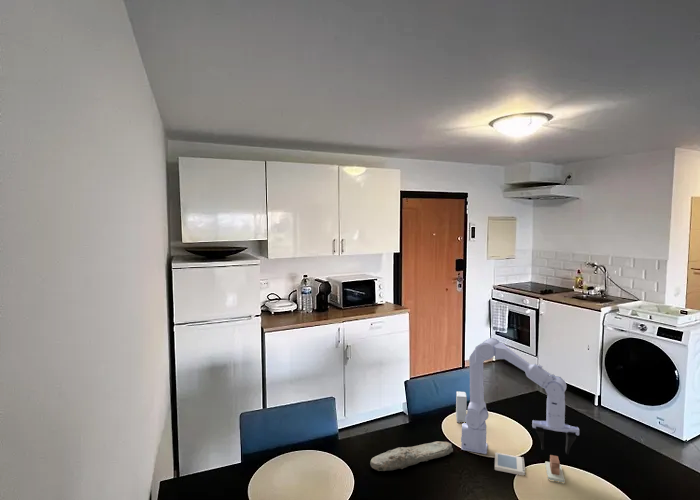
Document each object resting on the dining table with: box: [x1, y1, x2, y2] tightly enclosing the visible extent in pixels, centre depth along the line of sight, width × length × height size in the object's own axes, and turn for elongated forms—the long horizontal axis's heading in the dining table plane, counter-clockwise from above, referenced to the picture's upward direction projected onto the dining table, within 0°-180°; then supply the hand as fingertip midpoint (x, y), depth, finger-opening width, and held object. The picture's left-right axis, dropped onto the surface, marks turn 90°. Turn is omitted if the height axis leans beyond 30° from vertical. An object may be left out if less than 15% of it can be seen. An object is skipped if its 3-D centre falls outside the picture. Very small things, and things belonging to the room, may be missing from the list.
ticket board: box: [494, 451, 526, 476], centre depth 144 cm, size 10×10×1 cm
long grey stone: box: [369, 441, 454, 472], centre depth 149 cm, size 35×5×10 cm
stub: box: [544, 454, 566, 484], centre depth 139 cm, size 5×10×5 cm, turn 159°
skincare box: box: [455, 390, 468, 423], centre depth 179 cm, size 6×4×12 cm
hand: (554, 450), depth 139 cm, fingers open, 7 cm apart
